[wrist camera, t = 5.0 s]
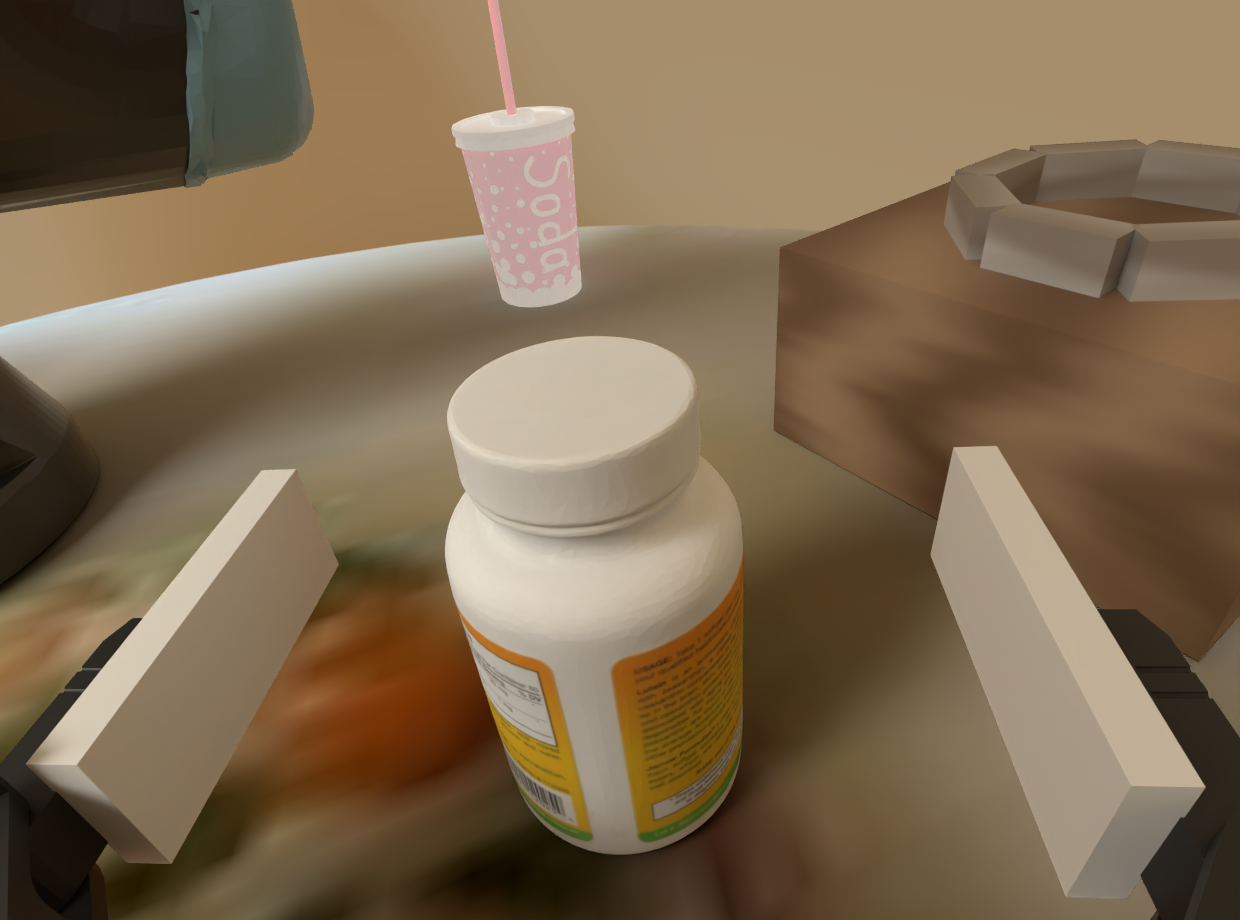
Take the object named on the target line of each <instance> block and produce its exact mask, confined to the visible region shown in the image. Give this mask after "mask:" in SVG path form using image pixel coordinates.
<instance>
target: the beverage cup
mask: <svg viewBox="0 0 1240 920" xmlns="http://www.w3.org/2000/svg"><path fill="white" fill-rule="evenodd" d="M488 5H489V11H490V17H491V22H492V29H493V34H494V40H495V46H496V52H497V58H498V63H499V69H500V75H501V81H502V86H503V92H504V98H505V104H506V110H501V111H495V112H490V113H485V114H480V115H476V116H473V117H470V118H466V119H463V120H461V121H459V122H457V123H455V124H453V126H452V133H453V136H454V137H455V138H456V147H459V148H461V149H462V152H463V156H464V160H465V163H466V167H467V170H468V174H469V178H470V182H471V185H472V189H473V193H474V196H475V200H476V204H477V208H478V211H479V215H480V219H481V222H482V226H483V230H484V234H485V237H486V241H487V245H488V248H489V252H490V256H491V260H492V263H493V267H494V271H495V274H496V278H497V282H498V285H499V289H500V293H501V296H502V299H503V300H504V301H505V302H506V303H508V304H510V305H514V306H519V307H540V306H547V305H553V304H556V303H559V302H562V301H565V300H568V299H569V298H571V297H573V296H575V295H576V294H577V293H578V292H579V291H580V289H581V288H582V284H581V270H580V256H579V242H578V228H577V214H576V200H575V185H574V171H573V158H572V143H571V133H573V132H574V131H575V128H574V124H573V122H574V120H575V119H574V112H573V110H572V109H570V108H565V107H557V106H556V107H555V106H538V107H523V108H516V106H515V100H514V94H513V88H512V82H511V76H510V70H509V64H508V58H507V52H506V46H505V40H504V34H503V28H502V21H501V15H500V10H499V3H498V0H488Z"/></svg>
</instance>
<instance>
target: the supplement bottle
mask: <svg viewBox="0 0 1240 920" xmlns="http://www.w3.org/2000/svg"><path fill="white" fill-rule="evenodd" d="M447 422H448V430H449V434H450V438H451V441H452V445H453V449H454V454H455V458H456V462H457V466H458V472H459V477H460V480H461V483H462V485H463V487H464V489H465V490H466V492H465V493H464V495H463V496H462V498H461V499H460V501H459V503H458V504H457V506H456V508H455V510H454V512H453V515H452V517H451V520H450V522H449V526H448V530H447V536H446V542H445V559H446V566H447V572H448V576H449V580H450V585H451V589H452V593H453V596H454V600H455V603H456V606H457V609H458V612H459V614H460V617H461V621H462V623H463V626H464V629H465V632H466V635H467V638H468V641H469V644H470V647H471V650H472V653H473V656H474V659H475V662H476V665H477V668H478V671H479V674H480V678H481V681H482V684H483V687H484V690H485V693H486V696H487V699H488V702H489V705H490V708H491V711H492V714H493V717H494V720H495V723H496V726H497V729H498V732H499V735H500V738H501V740H502V743H503V746H504V750H505V753H506V755H507V759H508V762H509V764H510V767H511V770H512V773H513V776H514V778H515V781H516V783H517V785H518V788H519V790H520V792H521V794H522V796H523V798H524V800H525V802H526V804H527V805H528V807H529V808H530V810H531V811H532V812H533V814H534V815H535V816H536V817H537V819H538V820H539V821H540V822H541V823H542V824H543V825H545V826H546V827H547V828H548V829H549V830H550V831H552V832H553V833H554V834H556V835H557V836H559V837H560V838H562V839H563V840H565V841H567V842H569V843H571V844H573V845H575V846H578V847H580V848H583V849H586V850H589V851H594V852H598V853H604V854H617V855H624V854H636V853H643V852H648V851H652V850H655V849H659V848H662V847H664V846H667V845H669V844H672V843H674V842H676V841H678V840H680V839H682V838H684V837H685V836H687V835H688V834H690V833H691V832H693V831H694V830H696V829H697V828H699V827H700V826H701V825H702V824H703V823H704V822H706V821H707V820H708V819H709V818H710V817H711V816H712V815H713V814H714V812H715V811H716V810H717V809H718V808H719V806H720V805H721V804H722V802H723V801H724V800H725V798H726V796H727V794H728V793H729V791H730V789H731V786H732V784H733V782H734V779H735V776H736V773H737V770H738V766H739V762H740V756H741V747H742V732H743V613H744V612H743V608H744V579H743V578H744V547H743V540H742V526H741V518H740V514H739V510H738V507H737V503H736V500H735V498H734V496H733V494H732V492H731V490H730V489H729V487H728V485H727V483H726V482H725V480H724V479H723V478H722V477H721V476H720V474H719V473H718V472H717V471H716V469H715V468H714V467H713V466H712V465H711V464H710V463H709V462H708V461H707V460H705V459H704V458H703V457H701V456H700V448H701V427H700V414H699V398H698V389H697V382H696V380H695V377H694V375H693V372H692V370H691V369H690V367H689V366H688V365H687V364H686V362H685V361H684V360H682V359H681V358H680V357H678V356H677V355H676V354H674V353H673V352H671V351H669V350H667V349H665V348H663V347H660V346H658V345H656V344H653V343H649V342H646V341H640V340H636V339H631V338H623V337H611V336H583V337H573V338H567V339H559V340H553V341H548V342H544V343H539V344H536V345H532V346H529V347H526V348H522V349H519V350H517V351H514V352H511V353H509V354H506V355H504V356H502V357H500V358H498V359H496V360H494V361H492V362H490V363H488V364H486V365H485V366H483V367H482V368H480V369H479V370H477V371H476V372H474V373H473V374H472V375H471V376H469V377H468V378H467V379H466V380H465V381H464V382H463V383H462V384H461V385H460V386H459V388H458V389H457V390H456V392H455V393H454V395H453V397H452V399H451V401H450V404H449V408H448V412H447Z"/></svg>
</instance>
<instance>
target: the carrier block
mask: <svg viewBox="0 0 1240 920" xmlns="http://www.w3.org/2000/svg"><path fill="white" fill-rule="evenodd" d="M774 431H776V432H778V433H780V434H782V435H784V436H786V437H787V438H789V439H791V440H793V441H795V442H797V443H798V444H800V445H802V446H804V447H806V448H808V449H809V450H811V451H813V452H815V453H817V454H819V455H820V456H822V457H824V458H826V459H828V460H830V461H831V462H833V463H835V464H837V465H839V466H841V467H842V468H844V469H846V470H848V471H850V472H852V473H853V474H855V475H857V476H859V477H861V478H863V479H864V480H866V481H868V482H870V483H872V484H874V485H875V486H877V487H879V488H881V489H883V490H885V491H887V492H888V493H890V494H892V495H894V496H896V497H898V498H899V499H901V500H903V501H905V502H907V503H909V504H910V505H912V506H914V507H916V508H918V509H920V510H921V511H923V512H925V513H927V514H929V515H931V516H932V517H934V518H936V519H938V517H939V513H940V508H941V503H942V499H943V494H944V489H945V485H946V480H947V475H948V471H949V466H950V461H951V457H952V452H953V447H977V446H997V447H998V449H999V451H1000V452H1001V454H1002V455H1003V457H1004V459H1005V460H1006V462H1007V464H1008V465H1009V467H1010V469H1011V470H1012V472H1013V473H1014V475H1015V477H1016V478H1017V480H1018V482H1019V483H1020V485H1021V487H1022V488H1023V490H1024V491H1025V493H1026V495H1027V496H1028V498H1029V500H1030V501H1031V503H1032V504H1033V506H1034V508H1035V509H1036V511H1037V513H1038V514H1039V516H1040V518H1041V519H1042V521H1043V522H1044V524H1045V526H1046V527H1047V529H1048V531H1049V532H1050V534H1051V536H1052V537H1053V539H1054V540H1055V542H1056V544H1057V545H1058V547H1059V549H1060V550H1061V552H1062V553H1063V555H1064V557H1065V558H1066V560H1067V562H1068V563H1069V565H1070V567H1071V568H1072V570H1073V571H1074V573H1075V575H1076V576H1077V578H1078V580H1079V581H1080V583H1081V585H1082V586H1083V588H1084V589H1085V591H1086V593H1087V594H1088V596H1089V598H1090V599H1091V601H1092V602H1093V604H1094V605H1096V606H1098V607H1100V608H1101V609H1136V610H1138V611H1139V612H1140V613H1141V614H1143V615H1144V616H1145V617H1146V618H1148V619H1149V620H1150V621H1151V622H1153V623H1154V624H1155V625H1156V626H1158V627H1159V628H1160V629H1161V630H1163V631H1164V632H1165V633H1166V634H1168V635H1169V636H1170V638H1171V639H1172V641H1173V642H1174V644H1175V645H1176V646H1177V648H1178V649H1179V651H1180V652H1182V653H1184V654H1186V655H1188V656H1190V657H1191V658H1193V659H1195V660H1197V661H1200V660H1201V659H1202V657H1203V656H1204V655H1205V654H1206V653H1207V652H1208V651H1209V649H1210V648H1211V647H1212V646H1213V645H1214V644H1215V643H1216V641H1217V640H1218V639H1219V638H1220V637H1221V636H1222V635H1223V633H1224V632H1225V631H1226V630H1227V629H1228V628H1229V627H1230V625H1231V624H1232V623H1233V622H1234V621H1235V620H1236V619H1237V617H1238V616H1239V615H1240V149H1239V148H1231V147H1221V146H1212V145H1202V144H1193V143H1183V142H1173V141H1164V140H1158V141H1156V142H1154V143H1152V144H1149V145H1145V144H1143V143H1141V142H1140V141H1138V140H1120V141H1103V142H1086V143H1070V144H1054V145H1036V146H1030V150H1029V151H1027V150H1019V149H1011V150H1009V151H1006V152H1003V153H1001V154H998V155H996V156H993V157H990V158H988V159H985V160H982V161H980V162H977V163H975V164H972V165H969V166H966V167H964V168H962V169H958V170H956V173H955V176H951V182H948V183H946V184H943V185H941V186H938V187H936V188H933V189H930V190H928V191H925V192H923V193H920V194H917V195H915V196H912V197H910V198H907V199H904V200H902V201H899V202H897V203H894V204H892V205H889V206H887V207H884V208H881V209H879V210H876V211H873V212H871V213H868V214H866V215H863V216H861V217H858V218H855V219H853V220H850V221H848V222H845V223H843V224H840V225H837V226H835V227H832V228H830V229H827V230H824V231H822V232H819V233H817V234H814V235H811V236H809V237H806V238H804V239H801V240H799V241H796V242H793V243H791V244H788V245H786V246H783V247H780V264H779V293H778V322H777V350H776V379H775V408H774Z"/></svg>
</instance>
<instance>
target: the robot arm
mask: <svg viewBox="0 0 1240 920" xmlns="http://www.w3.org/2000/svg"><path fill="white" fill-rule="evenodd" d="M313 116H314V106H313V99H312V94H311V89H310V84H309V79H308V74H307V70H306V65H305V60H304V56H303V51H302V46H301V41H300V37H299V32H298V27H297V22H296V18H295V14H294V9H293V4H292V0H0V213H4V212H10V211H17V210H24V209H31V208H38V207H45V206H52V205H58V204H65V203H72V202H78V201H86V200H93V199H100V198H106V197H113V196H120V195H127V194H134V193H140V192H147V191H154V190H161V189H168V188H175V187H181V186H184V187H186V188H189V187H195V186H201V185H202V184H203V183H204V182H205V181H206V179H208V178H212V177H216V176H221V175H225V174H230V173H233V172H238V171H242V170H247V169H251V168H255V167H260V166H264V165H269V164H273V163H277V162H280V161H283V160H284V159H286V158H287V157H290V156H291V155H293V152H295V151H296V150H297V149H299V148H300V147H301V146H302V145H303V144H304V142H305V141H306V139H307V137H308V135H309V132H310V130H311V129H312V124H313V118H314V117H313ZM98 474H99V462H98V459H97V456H96V454H95V452H94V451H93V449H92V448H91V446H90V444H89V443H88V441H87V440H86V438H85V437H84V435H83V434H82V432H81V431H80V429H79V427H78V426H77V424H76V423H75V421H74V420H73V418H72V417H71V415H70V414H69V413H68V412H67V411H66V410H65V409H64V407H63V406H62V405H61V404H60V403H58V402H57V401H56V400H55V399H53V398H52V397H51V396H50V395H48V394H47V393H46V392H45V391H43V390H42V389H41V388H40V387H38V386H37V385H36V384H34V383H33V382H32V381H31V380H29V379H28V378H27V377H26V376H24V375H23V374H22V373H21V372H19V371H18V370H17V369H16V368H14V367H13V366H12V365H10V364H9V363H8V362H7V361H5V360H4V359H3V358H2V357H0V584H1V583H3V582H4V581H5V580H7V579H8V578H9V577H11V576H12V575H14V574H15V573H16V572H18V571H19V570H20V569H21V568H23V567H24V566H25V565H26V564H28V563H29V562H30V561H31V560H33V559H34V558H35V557H36V556H37V555H38V554H40V553H41V552H42V551H43V550H44V549H45V548H46V547H48V546H49V545H50V544H51V543H52V542H53V541H54V540H55V539H56V538H57V537H58V536H59V535H60V534H61V533H62V532H63V531H64V530H65V529H66V528H67V527H68V526H69V524H70V523H71V522H72V521H73V520H74V519H75V518H76V516H77V515H78V514H79V512H80V511H81V510H82V508H83V507H84V505H85V504H86V502H87V501H88V499H89V497H90V496H91V494H92V492H93V490H94V487H95V485H96V482H97V478H98ZM930 555H931V558H932V560H933V563H934V565H935V568H936V570H937V573H938V575H939V578H940V580H941V583H942V586H943V588H944V591H945V593H946V596H947V598H948V601H949V603H950V606H951V608H952V611H953V613H954V616H955V618H956V621H957V623H958V626H959V629H960V631H961V634H962V636H963V639H964V641H965V644H966V646H967V649H968V651H969V654H970V656H971V659H972V661H973V664H974V666H975V669H976V671H977V674H978V677H979V679H980V682H981V684H982V687H983V689H984V692H985V694H986V697H987V699H988V702H989V704H990V707H991V709H992V712H993V714H994V717H995V720H996V722H997V725H998V727H999V730H1000V732H1001V735H1002V737H1003V740H1004V742H1005V745H1006V747H1007V750H1008V752H1009V755H1010V757H1011V760H1012V763H1013V765H1014V768H1015V770H1016V773H1017V775H1018V778H1019V780H1020V783H1021V785H1022V788H1023V790H1024V793H1025V795H1026V798H1027V800H1028V803H1029V805H1030V808H1031V811H1032V813H1033V816H1034V818H1035V821H1036V823H1037V826H1038V828H1039V831H1040V833H1041V836H1042V838H1043V841H1044V843H1045V846H1046V848H1047V851H1048V854H1049V856H1050V859H1051V861H1052V864H1053V866H1054V869H1055V871H1056V874H1057V876H1058V879H1059V881H1060V884H1061V886H1062V889H1063V891H1064V894H1065V896H1066V897H1076V898H1103V899H1128V897H1129V896H1130V894H1131V893H1132V892H1133V890H1134V889H1135V887H1136V886H1137V884H1138V883H1139V882H1140V880H1141V879H1142V880H1143V882H1144V884H1145V886H1146V888H1147V890H1148V892H1149V894H1150V896H1151V898H1152V901H1153V903H1154V905H1155V907H1156V909H1157V911H1156V912H1155V914H1154V915H1153V916H1152V918H1151V919H1150V920H1240V737H1239V736H1238V734H1237V733H1236V732H1235V730H1234V729H1233V727H1232V726H1231V724H1230V723H1229V721H1228V720H1227V719H1226V717H1225V716H1224V714H1223V713H1222V711H1221V710H1220V708H1219V707H1218V706H1217V704H1216V703H1215V701H1214V700H1213V699H1210V698H1209V697H1208V691H1207V690H1206V688H1205V687H1204V685H1203V684H1202V683H1201V681H1200V680H1199V678H1198V677H1197V675H1196V674H1195V673H1192V672H1191V671H1190V665H1189V664H1188V662H1187V661H1186V659H1185V658H1184V657H1183V655H1182V654H1181V652H1180V651H1179V649H1178V648H1177V646H1176V645H1175V644H1174V642H1173V641H1172V639H1171V638H1170V636H1169V635H1168V634H1166V633H1165V632H1164V631H1163V630H1161V629H1160V628H1159V627H1158V626H1156V625H1155V624H1154V623H1153V622H1151V621H1150V620H1149V619H1148V618H1146V617H1145V616H1144V615H1143V614H1141V613H1140V612H1139V611H1138V610H1136V609H1096V607H1095V606H1094V604H1093V602H1092V601H1091V599H1090V598H1089V596H1088V594H1087V593H1086V591H1085V589H1084V588H1083V586H1082V585H1081V583H1080V581H1079V580H1078V578H1077V576H1076V575H1075V573H1074V571H1073V570H1072V568H1071V567H1070V565H1069V563H1068V562H1067V560H1066V558H1065V557H1064V555H1063V553H1062V552H1061V550H1060V549H1059V547H1058V545H1057V544H1056V542H1055V540H1054V539H1053V537H1052V536H1051V534H1050V532H1049V531H1048V529H1047V527H1046V526H1045V524H1044V522H1043V521H1042V519H1041V518H1040V516H1039V514H1038V513H1037V511H1036V509H1035V508H1034V506H1033V504H1032V503H1031V501H1030V500H1029V498H1028V496H1027V495H1026V493H1025V491H1024V490H1023V488H1022V487H1021V485H1020V483H1019V482H1018V480H1017V478H1016V477H1015V475H1014V473H1013V472H1012V470H1011V469H1010V467H1009V465H1008V464H1007V462H1006V460H1005V459H1004V457H1003V455H1002V454H1001V452H1000V451H999V449H998V447H997V446H977V447H953V452H952V457H951V461H950V466H949V471H948V475H947V480H946V485H945V489H944V494H943V499H942V503H941V508H940V513H939V517H938V522H937V526H936V531H935V536H934V540H933V545H932V550H931V554H930ZM338 565H339V564H338V562H337V560H336V557H335V555H334V553H333V551H332V548H331V546H330V544H329V542H328V540H327V537H326V535H325V533H324V531H323V528H322V526H321V524H320V522H319V520H318V517H317V515H316V513H315V511H314V508H313V506H312V504H311V502H310V499H309V497H308V495H307V493H306V491H305V488H304V486H303V484H302V482H301V479H300V477H299V475H298V473H297V471H296V469H289V470H262V471H261V472H260V473H259V474H258V476H257V477H256V478H255V479H254V481H253V482H252V483H251V484H250V486H249V487H248V488H247V489H246V491H245V492H244V493H243V494H242V496H241V497H240V498H239V499H238V501H237V502H236V503H235V504H234V506H233V507H232V508H231V509H230V511H229V512H228V513H227V514H226V515H225V517H224V518H223V519H222V520H221V522H220V523H219V524H218V525H217V527H216V528H215V529H214V530H213V532H212V533H211V534H210V535H209V537H208V538H207V539H206V540H205V542H204V543H203V544H202V545H201V547H200V548H199V549H198V550H197V552H196V553H195V554H194V555H193V557H192V558H191V559H190V560H189V561H188V563H187V564H186V565H185V566H184V568H183V569H182V570H181V571H180V573H179V574H178V575H177V576H176V578H175V579H174V580H173V581H172V583H171V584H170V585H169V586H168V588H167V589H166V590H165V591H164V593H163V594H162V595H161V596H160V598H159V599H158V600H157V601H156V602H155V604H154V605H153V606H152V607H151V609H150V610H149V611H148V612H147V614H146V615H145V616H144V617H143V618H132V619H131V620H130V621H128V622H127V623H126V624H125V625H123V626H122V627H121V628H119V629H118V630H117V631H116V632H114V633H113V634H112V635H110V636H109V637H108V638H107V639H105V640H104V641H103V642H102V643H101V644H100V646H99V647H98V648H97V649H96V650H95V652H94V653H93V654H92V655H91V656H90V658H89V659H88V660H87V661H86V662H85V664H84V665H83V666H82V671H81V672H77V673H76V674H75V676H74V677H73V678H72V679H71V680H70V682H69V683H68V684H67V685H66V686H65V691H64V693H60V694H59V695H58V696H57V697H56V698H55V700H54V701H53V702H52V703H51V704H50V705H49V707H48V708H47V709H46V710H45V711H44V713H43V714H42V715H41V716H40V717H39V719H38V720H37V721H36V722H35V723H34V725H33V726H32V727H31V728H30V729H29V731H28V732H27V733H26V734H25V735H24V737H23V738H22V739H21V740H20V741H19V743H18V744H17V745H16V746H15V747H14V749H13V750H12V751H11V752H10V753H9V755H8V756H7V757H6V758H5V759H4V761H3V762H2V763H1V764H0V920H108V914H107V903H106V893H105V883H104V876H103V874H102V872H101V869H100V867H99V866H98V865H97V864H96V863H95V862H96V861H97V859H98V857H99V856H100V854H101V853H102V851H103V850H104V848H105V847H106V845H107V844H108V845H109V846H111V847H112V848H113V849H114V850H115V851H116V852H117V853H118V854H119V855H120V856H121V857H122V858H123V859H124V860H125V861H126V862H134V863H161V864H172V862H173V860H174V858H175V857H176V855H177V853H178V851H179V849H180V848H181V846H182V844H183V842H184V840H185V839H186V837H187V835H188V833H189V831H190V830H191V828H192V826H193V824H194V823H195V821H196V819H197V817H198V815H199V814H200V812H201V810H202V808H203V806H204V805H205V803H206V801H207V799H208V798H209V796H210V794H211V792H212V790H213V789H214V787H215V785H216V783H217V781H218V780H219V778H220V776H221V774H222V773H223V771H224V769H225V767H226V765H227V764H228V762H229V760H230V758H231V756H232V755H233V753H234V751H235V749H236V747H237V746H238V744H239V742H240V740H241V739H242V737H243V735H244V733H245V731H246V730H247V728H248V726H249V724H250V722H251V721H252V719H253V717H254V715H255V714H256V712H257V710H258V708H259V706H260V705H261V703H262V701H263V699H264V697H265V696H266V694H267V692H268V690H269V688H270V687H271V685H272V683H273V681H274V680H275V678H276V676H277V674H278V672H279V671H280V669H281V667H282V665H283V663H284V662H285V660H286V658H287V656H288V655H289V653H290V651H291V649H292V647H293V646H294V644H295V642H296V640H297V638H298V637H299V635H300V633H301V631H302V630H303V628H304V626H305V624H306V622H307V621H308V619H309V617H310V615H311V613H312V612H313V610H314V608H315V606H316V604H317V603H318V601H319V599H320V597H321V596H322V594H323V592H324V590H325V588H326V587H327V585H328V583H329V581H330V579H331V578H332V576H333V574H334V572H335V571H336V569H337V567H338Z"/></svg>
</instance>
